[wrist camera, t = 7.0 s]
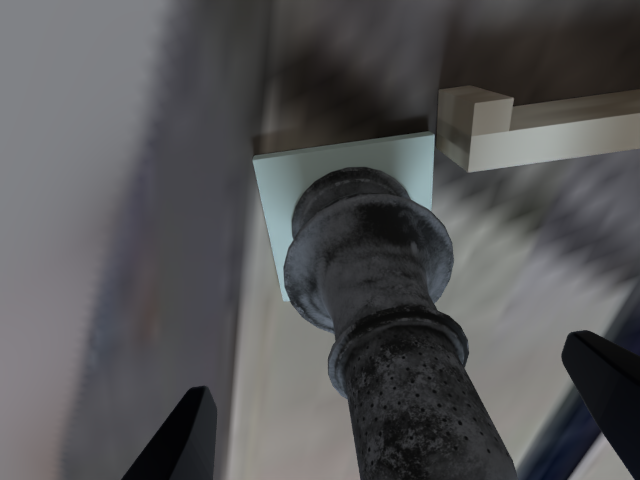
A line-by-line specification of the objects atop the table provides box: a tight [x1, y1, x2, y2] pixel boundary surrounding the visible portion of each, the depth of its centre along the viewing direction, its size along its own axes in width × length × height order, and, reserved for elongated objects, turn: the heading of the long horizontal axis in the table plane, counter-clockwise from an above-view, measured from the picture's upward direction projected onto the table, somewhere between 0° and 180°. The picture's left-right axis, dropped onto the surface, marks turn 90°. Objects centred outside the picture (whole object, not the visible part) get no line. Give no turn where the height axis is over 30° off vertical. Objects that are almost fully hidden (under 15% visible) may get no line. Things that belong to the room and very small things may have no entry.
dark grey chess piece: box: [283, 167, 518, 480], centre depth 10 cm, size 6×6×12 cm
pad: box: [253, 131, 435, 301], centre depth 16 cm, size 7×7×1 cm
